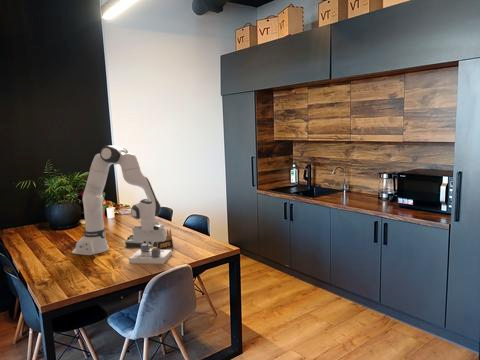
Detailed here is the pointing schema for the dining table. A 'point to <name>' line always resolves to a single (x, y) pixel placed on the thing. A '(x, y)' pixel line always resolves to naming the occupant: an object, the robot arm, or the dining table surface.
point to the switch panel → (150, 257)
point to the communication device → (136, 242)
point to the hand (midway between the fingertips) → (150, 248)
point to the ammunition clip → (166, 242)
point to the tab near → (155, 252)
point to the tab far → (144, 248)
